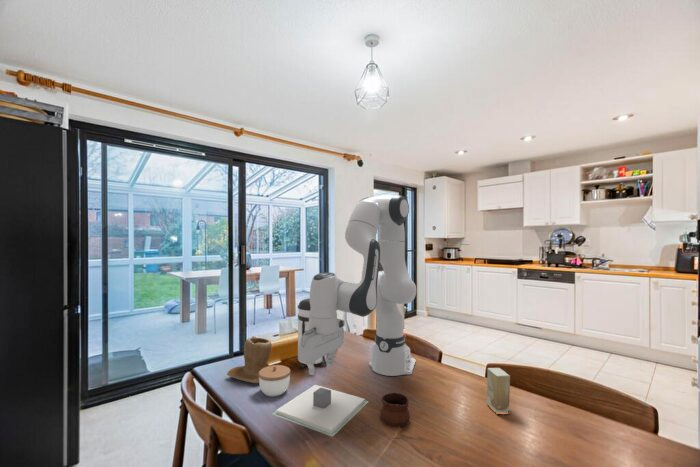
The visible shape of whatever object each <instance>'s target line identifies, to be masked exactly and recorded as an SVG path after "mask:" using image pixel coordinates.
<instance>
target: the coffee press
mask: <svg viewBox="0 0 700 467" xmlns="http://www.w3.org/2000/svg"><path fill="white" fill-rule="evenodd" d="M310 309H311V306H310V297H309V298H304V299H302V300H300V302H299V303H298V304H297V310H298V314H297V321H298V322H297V323H298V324H297V326H298V330H297V331H298V332H297V351H298V350H299V343H300V339H301V337H302V336H303V334H304V332H305V331H306V330H309V313H310ZM326 359H327V355H325V356H323V357H321V358H319V359H317V360H315V364H314V365H318V364H320V365H321V366H322V367H323V368H326V367H327V366H328V365H327V364H326V362H327V361H326ZM297 361H299V360H298V359H297ZM306 366H307V364H305V363H301V362H300V366H299V368H300V369H303V368H305V367H306Z"/></svg>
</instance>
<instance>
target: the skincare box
mask: <svg viewBox="0 0 700 467" xmlns="http://www.w3.org/2000/svg"><path fill="white" fill-rule="evenodd" d="M486 378H487V379H486V380H487V383H486V404H487V403H488V404H489V405H490V406H491V407H492V408H493V409H494V410H495V411H496V412H508V411H509V412H510V395H511V394H510V391H511V388H510V387H511V386H510V385H511V375H510V374H508V373H507V372H506V371H505V370H503V369H502V368H500V367H487V377H486Z"/></svg>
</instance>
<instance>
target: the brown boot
mask: <svg viewBox="0 0 700 467" xmlns="http://www.w3.org/2000/svg"><path fill="white" fill-rule="evenodd" d="M271 352H272V342H271V340H270V339H267V338H262V337H255V336H254V337H248V338H247V339H246V340H245V342H244V346H243V357H244V358H243V359H244V365H238V366H236V367H232V368H231V369H230V370H228V371H227V373H226V375H227V377H230V378H234V379H237V380H239V381H244V382H246V383H250V384H251V383H252V384H259V371H260V370H261V369H263V368H265V367H267V363H268V362H269V361H268V360H269V359H270V356H271Z"/></svg>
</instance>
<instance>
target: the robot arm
mask: <svg viewBox="0 0 700 467" xmlns="http://www.w3.org/2000/svg"><path fill="white" fill-rule="evenodd" d="M409 213H410V206H409V202H408V200H407V199H406V197H404V196H403V195H398V194H394V195H392V194H391V195H390V194H389V195H385V194H383V195H381V194H380V195H376V196H373V197H372V196H371V197H365V198H362V199H360V200H359V201H358V202H357V204H356V205H355V207H354V208H353V210H352V212H351V214H350V217H349V220H348V223H347V225H346V228H345V232H344V234H345V235H344V238H345V241H346V243H347V245H348V247H349V248H351V249H353V250H354V251H355V252H357V253H358V254H360V255H362V256H363V264H362V265H363V266H362V272H361V280H360V281H359V282H358V283H353V282H348V281H344V280H341V279H339V278H338V277H337V274H335V273H334V272H326V271H325V272H320V273H317V274H315V275H314V276H313V277H312V279H311V283H310V287H309V288H310V289H309V298H310V306H311V309H310V313H309V330H306V331H305V332H304V334H303V336H302V337H301V339H300V343H299V350H298V349H297V361H298V360H299V363H300V364H301V363H305V364H306V366H307V368H308V374H309V375H310V376H313V375H316V374H317V367H315V365H316V364H315V360H317V359H319V358H321V357H323V356H325V355H326V356H328V357H326V358H325V361H326V364H327V366H332V365H333V364H334V358H335V356H336V352H337V350H338V349H340V348H342V347H343V344H344V335H345V334H344V333H345V331H344V327H345V325H346V324H345V323H346V322H345V320H344V319H341V318H338V313H337V311H340V312H345V313H350V314H353V315H355V316H359V317H363V318H364V317H365V318H366V317H367V316H368V315H370V314H371V313H373V311H375V319H376V323H375V324H376V329H375V330H376V333H375V335H374V341H375V342H374V343H375V344H373V346H372V347H371V349H372V350H371V361H369V362H368V366H369V367H370V368H371V369H372V371H373V372H375V373H376V374H379V375H383V376H389V377H391V376H392V377H394V376H396V377H397V376H402V375H412V373H413V371H414V368H415V366H414V365H416V363H415V362H417V360H416V359H415V358H414V357H411V348H410V347H409V346H408V345H407V344H406V338H407V333H406V332H404V316H403V313H402V312H401V311H400V309H399V307H398V305H399V304H400V305H403V304H404V305H406V304H410V303H412V302H413V301H414V300H415V298H416V295H417V286H416V283H415V281H413V280H412V278H411V276H410V274H409V272H408V268H407V264H406V256H405V255H406V253H405V252H406V242H405V241H406V232H405V224H404V222H405V221H406V220H407V217H408V216H409ZM377 234H378V237H377ZM377 238H378V240H377ZM380 265H381V267H382V270H383V272H380V273H379V270H380Z"/></svg>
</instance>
